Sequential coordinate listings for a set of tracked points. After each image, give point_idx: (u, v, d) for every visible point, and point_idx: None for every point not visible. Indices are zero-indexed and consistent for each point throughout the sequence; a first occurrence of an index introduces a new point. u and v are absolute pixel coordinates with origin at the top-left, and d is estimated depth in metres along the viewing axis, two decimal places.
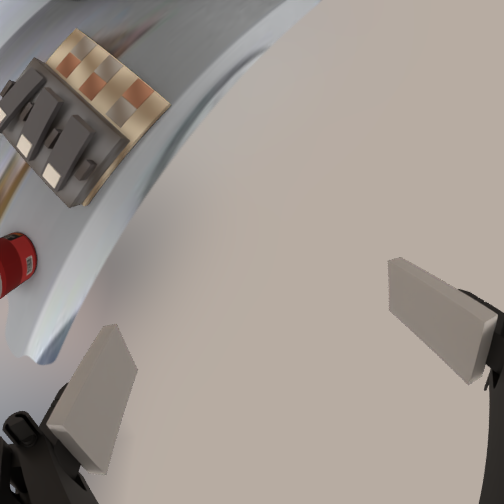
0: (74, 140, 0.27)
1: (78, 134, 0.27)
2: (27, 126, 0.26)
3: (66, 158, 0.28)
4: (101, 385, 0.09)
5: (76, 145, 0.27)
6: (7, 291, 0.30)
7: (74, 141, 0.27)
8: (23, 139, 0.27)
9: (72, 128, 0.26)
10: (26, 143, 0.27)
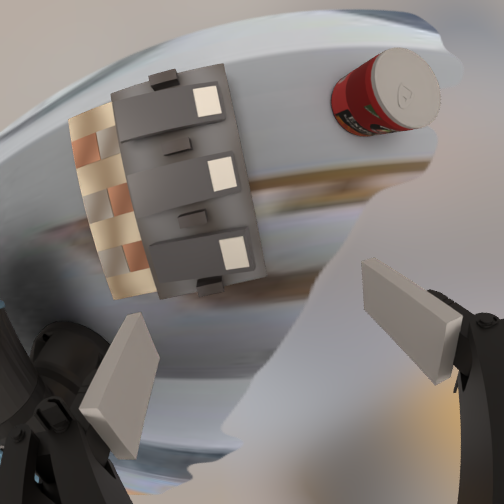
0: (139, 109, 0.21)
1: (128, 111, 0.20)
2: (197, 193, 0.24)
3: (167, 99, 0.21)
4: (130, 370, 0.10)
5: (141, 102, 0.21)
6: None
7: (140, 109, 0.21)
8: (216, 181, 0.24)
9: (131, 126, 0.21)
10: (215, 172, 0.24)
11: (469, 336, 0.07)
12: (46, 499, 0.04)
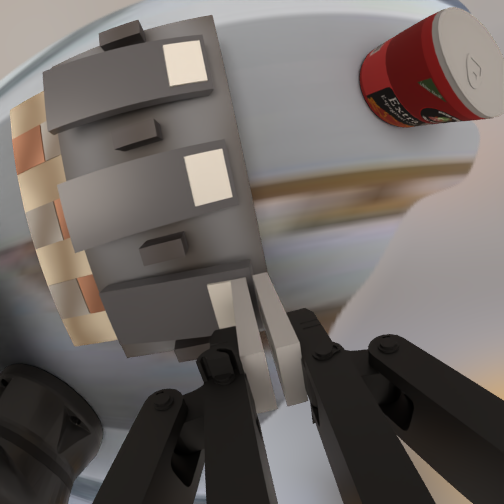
0: (78, 79, 0.11)
1: (62, 83, 0.11)
2: (168, 209, 0.14)
3: (122, 62, 0.12)
4: None
5: (83, 69, 0.11)
6: None
7: (80, 79, 0.11)
8: (199, 190, 0.15)
9: (64, 105, 0.11)
10: (197, 174, 0.14)
11: (307, 371, 0.08)
12: (175, 480, 0.06)
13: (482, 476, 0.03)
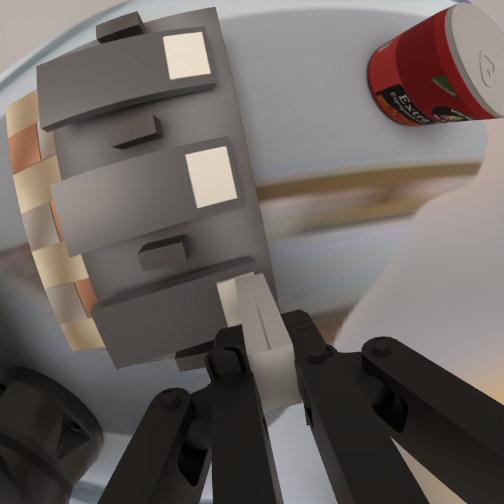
0: (73, 73, 0.10)
1: (56, 78, 0.10)
2: (168, 211, 0.13)
3: (119, 55, 0.11)
4: None
5: (78, 62, 0.10)
6: None
7: (75, 73, 0.10)
8: (201, 191, 0.14)
9: (58, 101, 0.10)
10: (199, 173, 0.13)
11: (300, 373, 0.08)
12: (182, 480, 0.06)
13: (478, 478, 0.03)
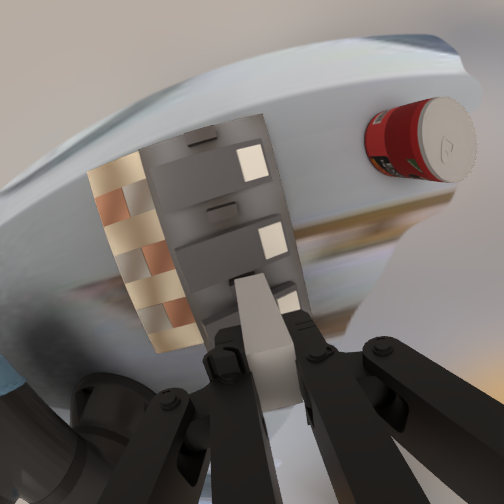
0: (180, 176, 0.21)
1: (168, 179, 0.21)
2: (250, 262, 0.24)
3: (210, 163, 0.21)
4: None
5: (182, 168, 0.21)
6: None
7: (181, 176, 0.21)
8: (268, 249, 0.24)
9: (173, 196, 0.21)
10: (266, 239, 0.24)
11: (301, 373, 0.08)
12: (181, 480, 0.06)
13: (479, 478, 0.03)
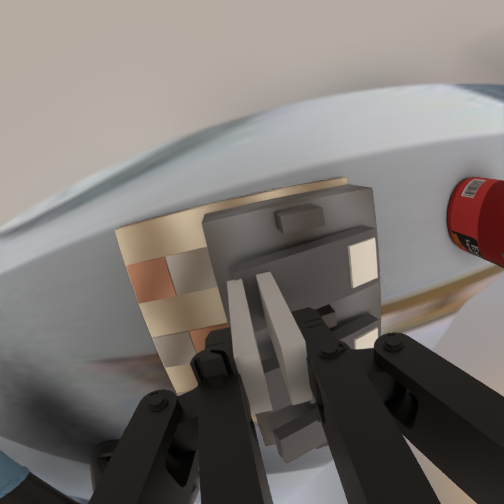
0: None
1: None
2: None
3: (315, 266, 0.16)
4: None
5: (279, 273, 0.15)
6: None
7: (278, 284, 0.15)
8: None
9: None
10: None
11: (313, 369, 0.08)
12: (170, 480, 0.06)
13: (485, 474, 0.03)
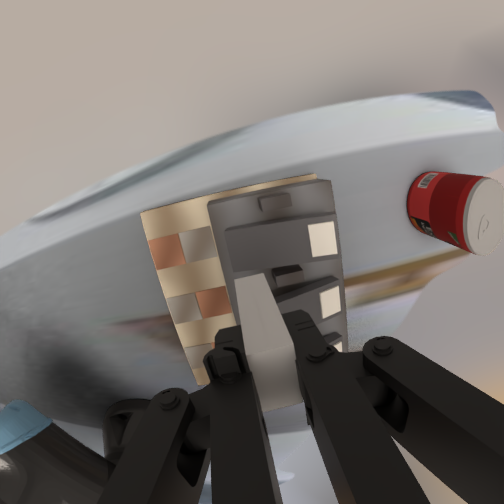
0: (251, 243, 0.24)
1: (240, 243, 0.24)
2: None
3: (280, 235, 0.23)
4: None
5: (253, 235, 0.24)
6: (473, 175, 0.23)
7: (252, 243, 0.24)
8: (325, 310, 0.26)
9: (243, 259, 0.24)
10: (325, 301, 0.26)
11: (301, 373, 0.08)
12: (181, 480, 0.06)
13: (479, 478, 0.03)
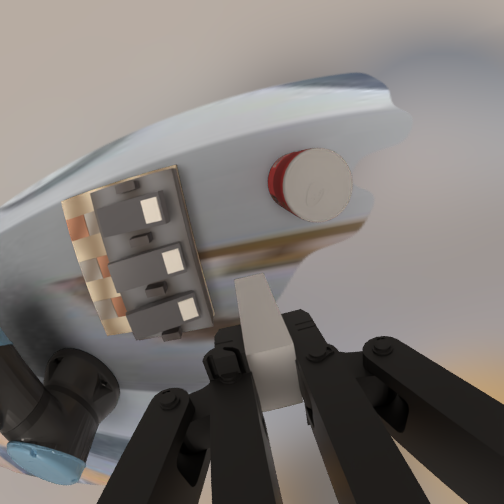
0: (111, 216, 0.32)
1: (105, 217, 0.32)
2: (156, 275, 0.34)
3: (126, 209, 0.31)
4: None
5: (111, 211, 0.31)
6: None
7: (111, 216, 0.32)
8: (169, 267, 0.34)
9: (108, 227, 0.32)
10: (167, 260, 0.34)
11: (301, 373, 0.08)
12: (181, 480, 0.06)
13: (479, 478, 0.03)
